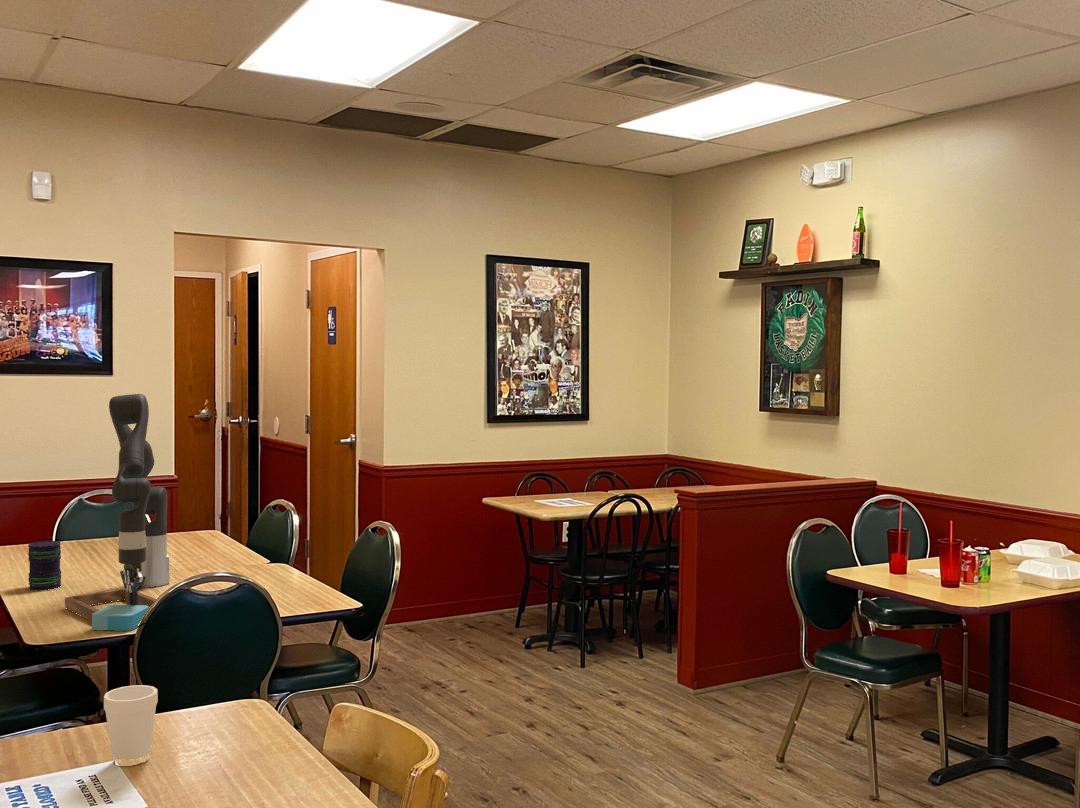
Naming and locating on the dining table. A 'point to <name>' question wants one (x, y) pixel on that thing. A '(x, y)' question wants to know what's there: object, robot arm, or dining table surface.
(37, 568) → the storage jar
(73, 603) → the walnut frame
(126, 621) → the data package
